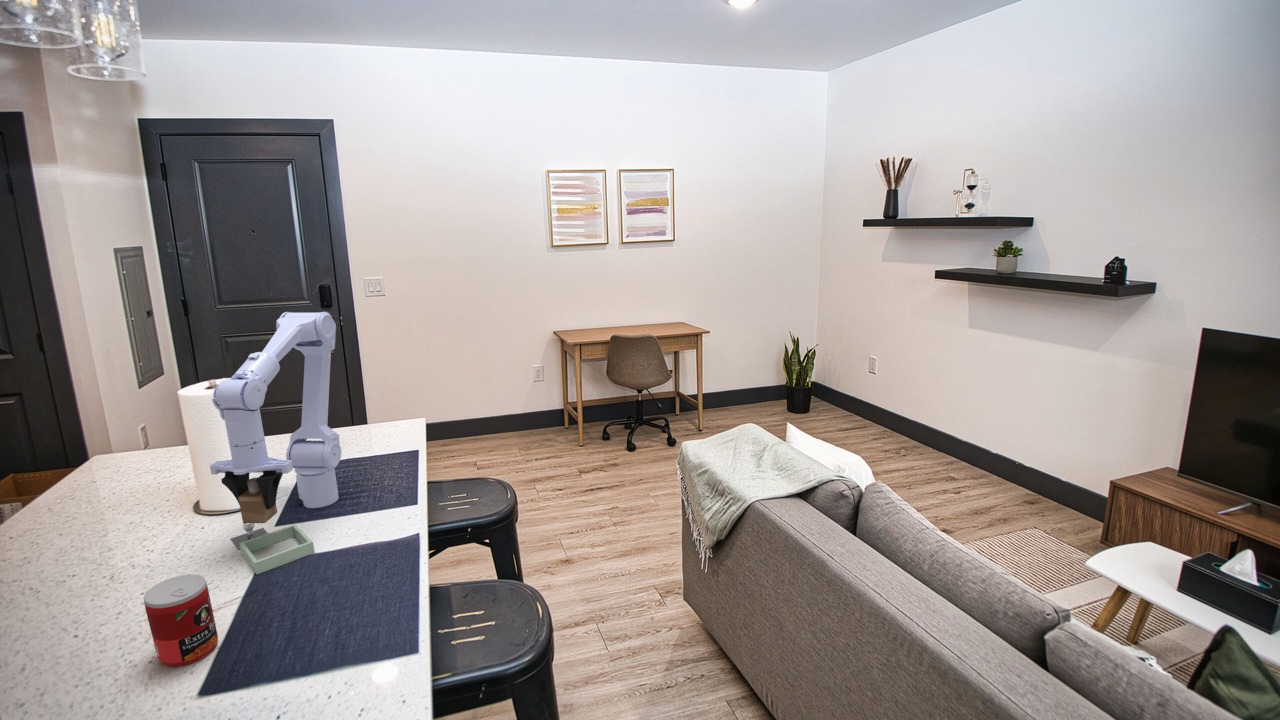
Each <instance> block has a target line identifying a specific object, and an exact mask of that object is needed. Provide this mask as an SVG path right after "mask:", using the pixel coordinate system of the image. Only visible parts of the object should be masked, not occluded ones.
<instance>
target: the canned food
mask: <svg viewBox="0 0 1280 720" xmlns="http://www.w3.org/2000/svg"><path fill="white" fill-rule="evenodd" d="M143 603H144V609H145V612H146V617H147V620H148V624H149V628H150V633H151V637H152V640H153V644H154V648H155V653H156V656H157V659H158V661H159V662H160V663H161V664H162V665H163V666H165V667H171V668H175V667H176V668H177V667H183V666H187V665H190V664H193V663H195V662H197V661H200V660H202V659H203V658H205V657H206V656H208V655H209V654H210V653H211V652H212V651H214V649H215V648H216V647H217V644H218V638H219V636H218V631H217V627H216V621H215V616H214V611H213V606H212V601H211V596H210V591H209V587H208V582H207V581H206V578H205V577H204V576H203V575H200V574H196V573H195V574H193V573H192V574H181V575H177V576H173V577H170V578H168V579H165V580H162V581H160V582H157V583H155V585H153V586H152V587H150V588H149V589H148V590H147V591H146V592H145V593H144V595H143Z"/></svg>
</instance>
